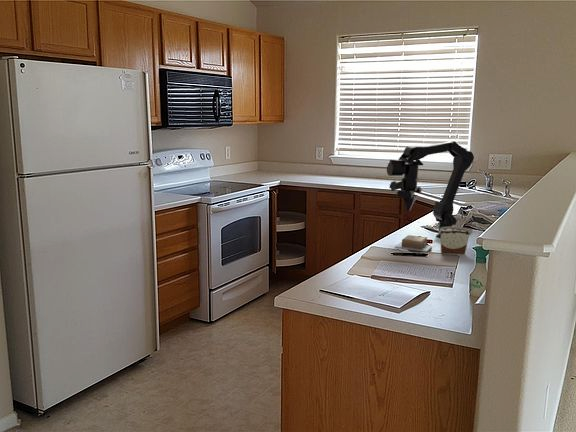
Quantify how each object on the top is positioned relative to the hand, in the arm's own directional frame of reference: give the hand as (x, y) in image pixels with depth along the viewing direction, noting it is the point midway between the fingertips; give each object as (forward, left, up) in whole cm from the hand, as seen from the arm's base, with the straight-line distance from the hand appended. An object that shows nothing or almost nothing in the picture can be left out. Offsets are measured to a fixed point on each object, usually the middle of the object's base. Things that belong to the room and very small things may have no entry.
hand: (408, 211), depth 233 cm
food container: (+13, +22, -12) cm, 28 cm away
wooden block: (+8, +7, -10) cm, 15 cm away
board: (+13, +7, -12) cm, 19 cm away
